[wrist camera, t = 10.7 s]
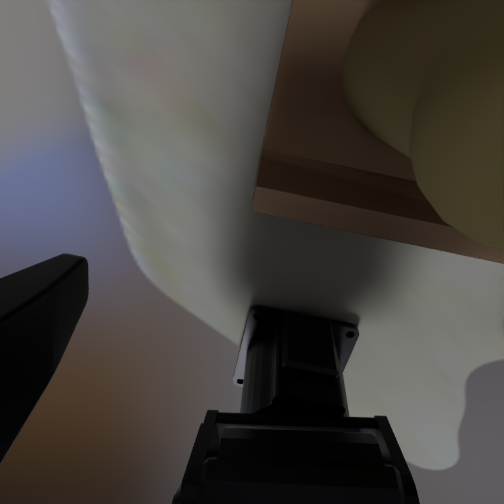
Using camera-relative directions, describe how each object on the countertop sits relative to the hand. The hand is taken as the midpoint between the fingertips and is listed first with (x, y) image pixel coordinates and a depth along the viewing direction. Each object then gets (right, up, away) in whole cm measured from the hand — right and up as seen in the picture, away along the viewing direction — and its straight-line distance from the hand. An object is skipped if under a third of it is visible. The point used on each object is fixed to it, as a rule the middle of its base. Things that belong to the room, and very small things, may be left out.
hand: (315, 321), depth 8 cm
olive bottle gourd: (+5, +9, +9) cm, 13 cm away
